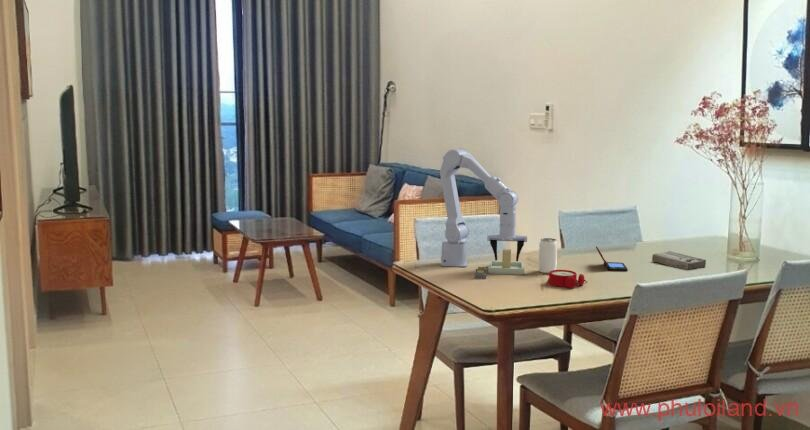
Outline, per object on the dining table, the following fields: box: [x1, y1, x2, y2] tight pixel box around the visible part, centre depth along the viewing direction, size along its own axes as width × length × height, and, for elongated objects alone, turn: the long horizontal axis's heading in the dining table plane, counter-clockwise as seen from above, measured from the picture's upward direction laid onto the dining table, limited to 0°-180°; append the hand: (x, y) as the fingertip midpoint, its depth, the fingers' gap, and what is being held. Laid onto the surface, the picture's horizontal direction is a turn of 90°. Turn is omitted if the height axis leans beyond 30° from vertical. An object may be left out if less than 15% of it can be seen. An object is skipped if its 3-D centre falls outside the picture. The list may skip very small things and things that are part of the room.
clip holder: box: [473, 266, 488, 280], centre depth 279 cm, size 4×9×2 cm, turn 172°
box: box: [651, 250, 707, 271], centre depth 301 cm, size 11×17×3 cm, turn 32°
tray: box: [487, 260, 525, 276], centre depth 288 cm, size 13×13×2 cm
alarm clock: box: [542, 269, 588, 289], centre depth 266 cm, size 10×6×15 cm
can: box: [538, 237, 558, 274], centre depth 286 cm, size 6×6×12 cm
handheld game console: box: [595, 246, 629, 272], centre depth 294 cm, size 12×11×7 cm
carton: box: [501, 248, 512, 268], centre depth 288 cm, size 3×5×7 cm, turn 171°
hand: (506, 260), depth 288 cm, fingers open, 7 cm apart
